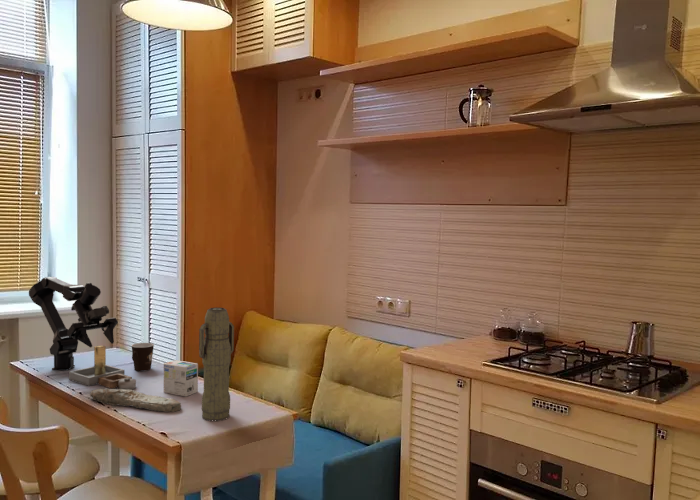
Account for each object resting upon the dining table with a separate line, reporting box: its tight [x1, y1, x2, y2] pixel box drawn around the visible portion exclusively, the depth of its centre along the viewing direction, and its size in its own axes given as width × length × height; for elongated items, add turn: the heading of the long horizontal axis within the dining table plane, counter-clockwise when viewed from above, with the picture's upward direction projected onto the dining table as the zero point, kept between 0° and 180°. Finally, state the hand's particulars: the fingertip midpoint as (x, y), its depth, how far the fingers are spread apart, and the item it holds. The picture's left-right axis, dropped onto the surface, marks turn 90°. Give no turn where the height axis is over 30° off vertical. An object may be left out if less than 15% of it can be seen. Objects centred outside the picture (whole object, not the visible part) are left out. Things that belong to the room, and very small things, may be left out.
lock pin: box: [93, 345, 107, 376], centre depth 237 cm, size 4×4×12 cm
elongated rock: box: [89, 388, 182, 413], centre depth 209 cm, size 35×5×10 cm
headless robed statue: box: [198, 307, 235, 422], centre depth 198 cm, size 9×12×35 cm
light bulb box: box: [163, 359, 199, 397], centre depth 223 cm, size 11×7×11 cm, turn 65°
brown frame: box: [98, 373, 137, 390], centre depth 230 cm, size 14×8×3 cm, turn 55°
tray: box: [68, 364, 125, 387], centre depth 238 cm, size 13×15×3 cm
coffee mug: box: [131, 342, 155, 372], centre depth 251 cm, size 12×9×10 cm
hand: (102, 344), depth 235 cm, fingers open, 9 cm apart
